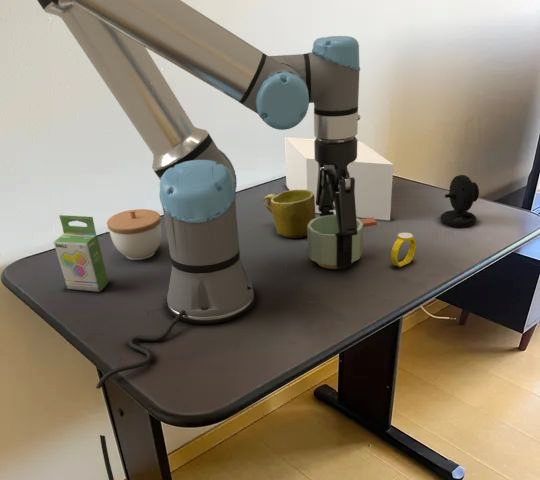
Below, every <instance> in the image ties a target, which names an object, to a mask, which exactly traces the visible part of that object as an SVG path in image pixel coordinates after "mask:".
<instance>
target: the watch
mask: <svg viewBox="0 0 540 480" xmlns="http://www.w3.org/2000/svg"><path fill="white" fill-rule="evenodd" d="M404 242H409V246H408V247H409V248H408V251H407V254H406V256H405V257H404V259H403V260H401V261H399V260H398V256H399V251H400V249H401V246H402V245H403V243H404ZM416 251H417V241H416V239H415V237H414V235H413V234H412V233H410V232H399V233H398V234H397V239H396V241H394V244H393V245H392V248H391V252H390V261H391V263H392V264H393V266H394V267H395V266H396V267H398V268H401V267H404V266H406V265H408V264H411V262H412V260H413V259H414V257H415V254H416Z"/></svg>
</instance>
